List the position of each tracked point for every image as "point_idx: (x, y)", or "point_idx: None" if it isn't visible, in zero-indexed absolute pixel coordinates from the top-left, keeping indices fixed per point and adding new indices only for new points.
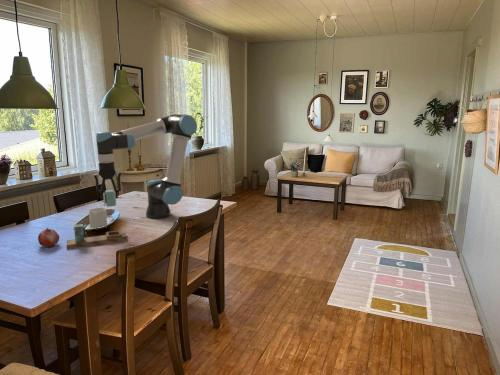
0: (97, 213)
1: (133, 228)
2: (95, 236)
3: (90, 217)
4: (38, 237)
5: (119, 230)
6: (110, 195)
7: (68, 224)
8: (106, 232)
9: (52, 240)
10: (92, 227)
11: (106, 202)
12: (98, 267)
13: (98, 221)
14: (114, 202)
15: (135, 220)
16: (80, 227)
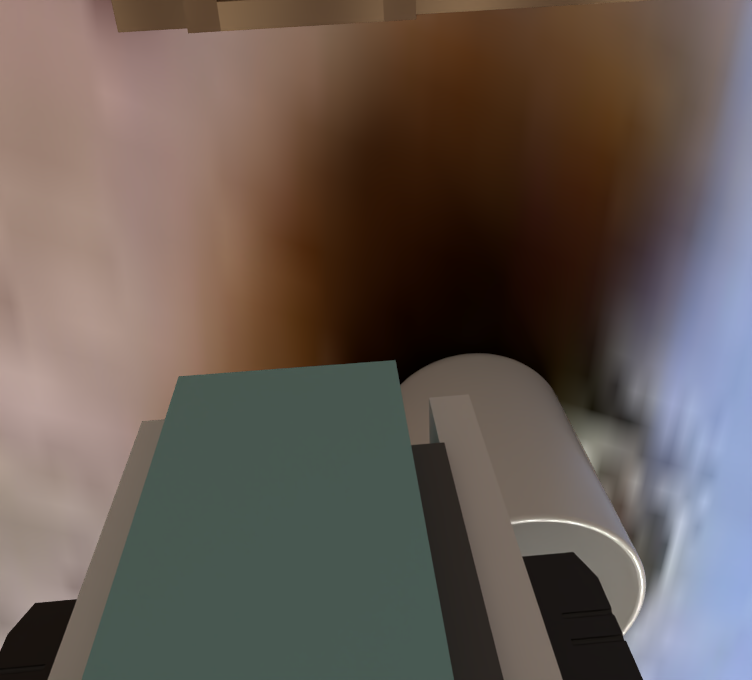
0: (529, 498)
1: (54, 311)
2: (565, 3)
3: (604, 490)
4: None
5: (195, 31)
6: (252, 662)
7: (713, 603)
8: (406, 3)
9: None
10: (549, 390)
11: (415, 455)
12: None
13: (495, 414)
14: (167, 443)
15: (70, 559)
16: None
